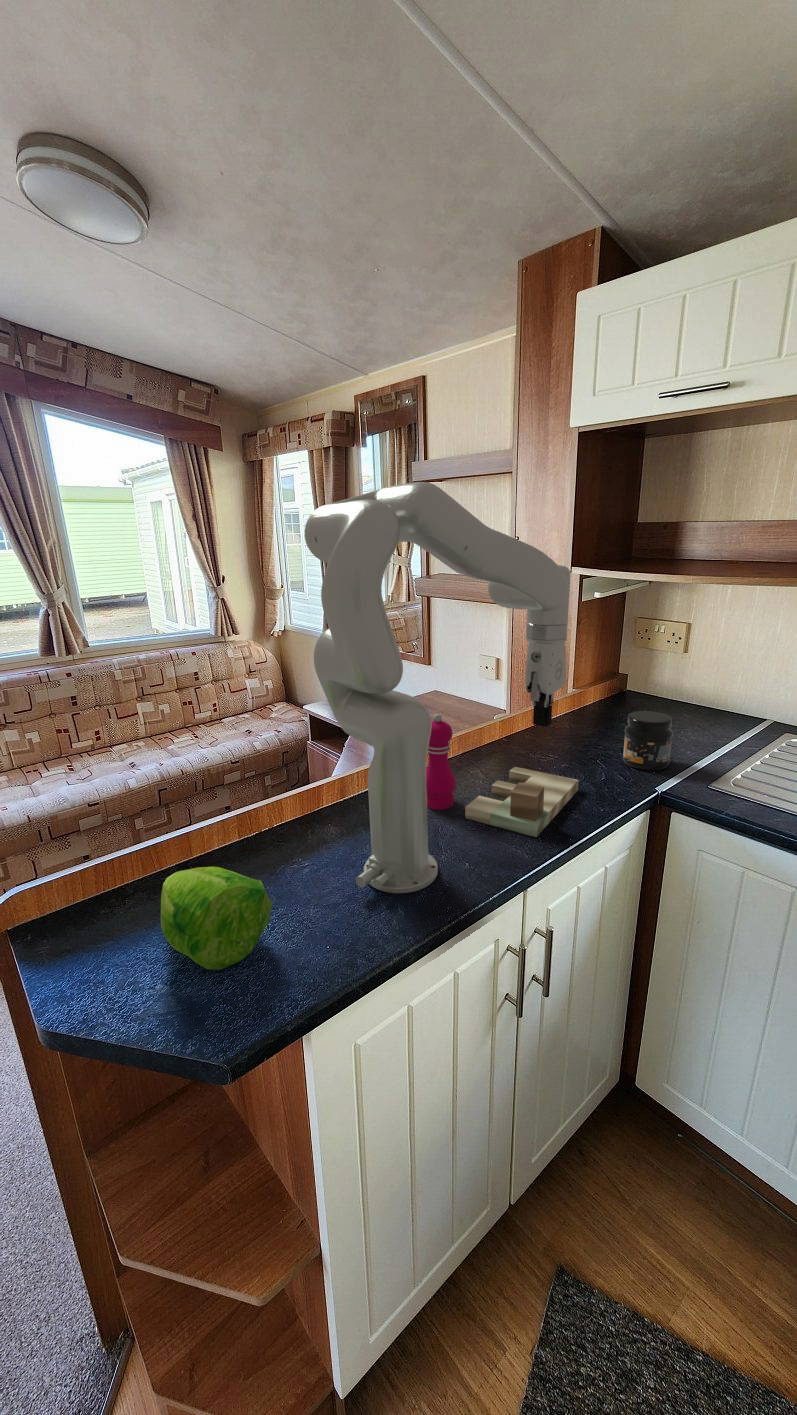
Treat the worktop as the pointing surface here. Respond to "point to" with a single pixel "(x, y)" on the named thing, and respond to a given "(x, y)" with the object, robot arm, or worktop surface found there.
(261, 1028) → the worktop surface
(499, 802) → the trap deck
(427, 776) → the pepper mill
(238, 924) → the lettuce
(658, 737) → the supplement container
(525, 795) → the walnut block
